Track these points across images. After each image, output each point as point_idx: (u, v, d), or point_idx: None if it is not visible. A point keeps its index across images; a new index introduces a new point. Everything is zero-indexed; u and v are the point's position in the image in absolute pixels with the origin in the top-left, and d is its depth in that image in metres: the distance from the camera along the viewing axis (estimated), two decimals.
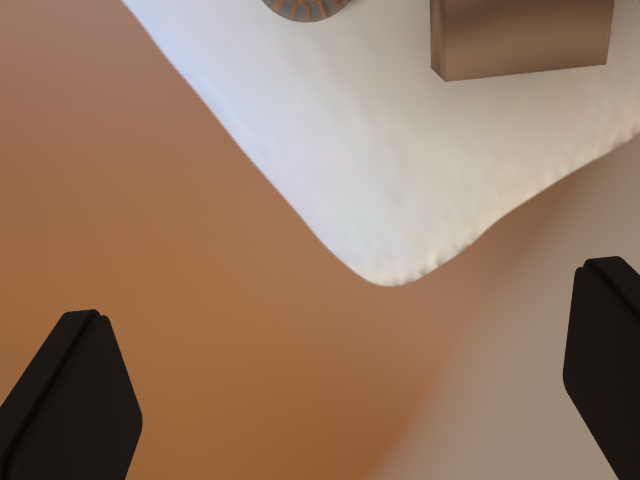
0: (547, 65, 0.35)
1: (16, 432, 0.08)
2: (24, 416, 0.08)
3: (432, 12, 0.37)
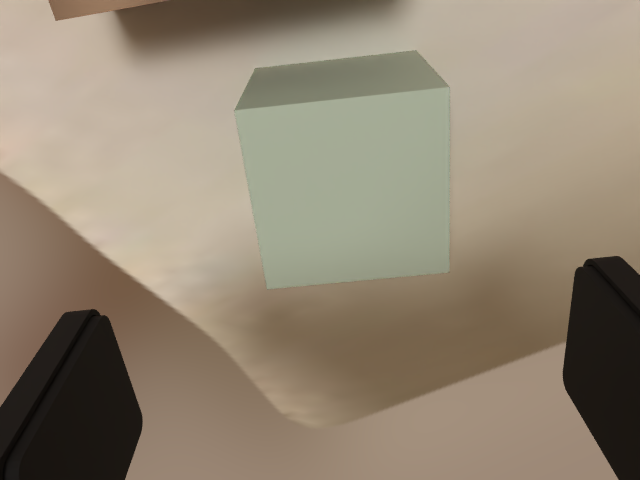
0: None
1: (16, 432, 0.08)
2: (24, 416, 0.08)
3: None
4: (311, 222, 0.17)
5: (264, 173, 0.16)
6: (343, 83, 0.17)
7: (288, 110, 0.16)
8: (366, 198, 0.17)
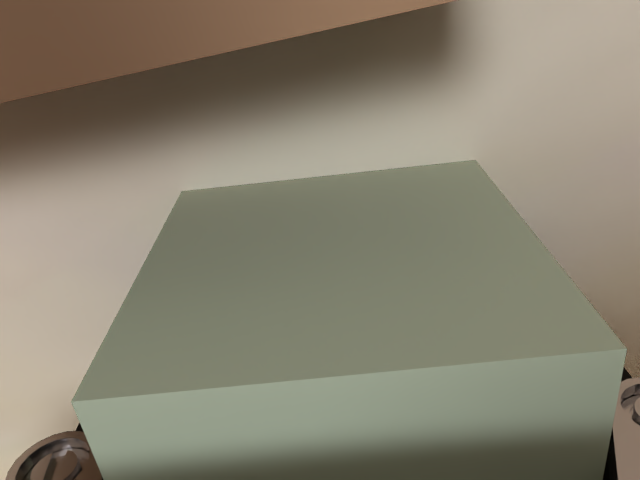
0: None
1: None
2: None
3: None
4: None
5: None
6: (347, 284, 0.08)
7: (209, 399, 0.06)
8: None
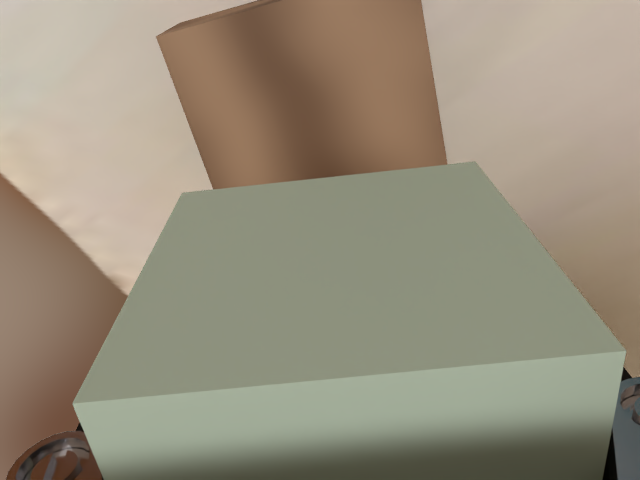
0: (219, 185, 0.24)
1: None
2: None
3: (257, 1, 0.24)
4: None
5: None
6: (347, 286, 0.08)
7: (210, 401, 0.06)
8: None
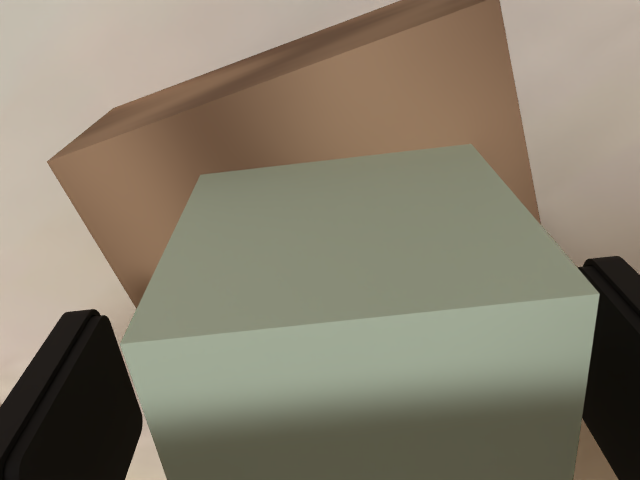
0: None
1: (16, 433, 0.08)
2: (24, 416, 0.08)
3: (226, 69, 0.15)
4: None
5: (195, 449, 0.08)
6: (356, 248, 0.09)
7: (238, 341, 0.07)
8: None
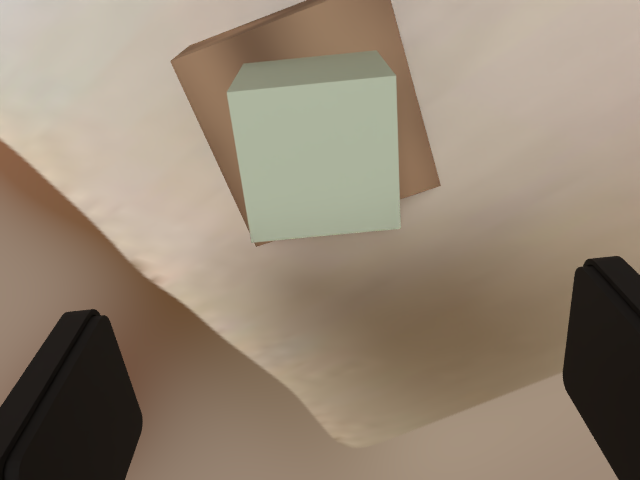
0: (233, 183, 0.28)
1: (16, 432, 0.08)
2: (24, 416, 0.08)
3: (254, 21, 0.28)
4: (288, 185, 0.21)
5: (250, 144, 0.21)
6: (314, 73, 0.21)
7: (269, 92, 0.20)
8: (332, 165, 0.21)
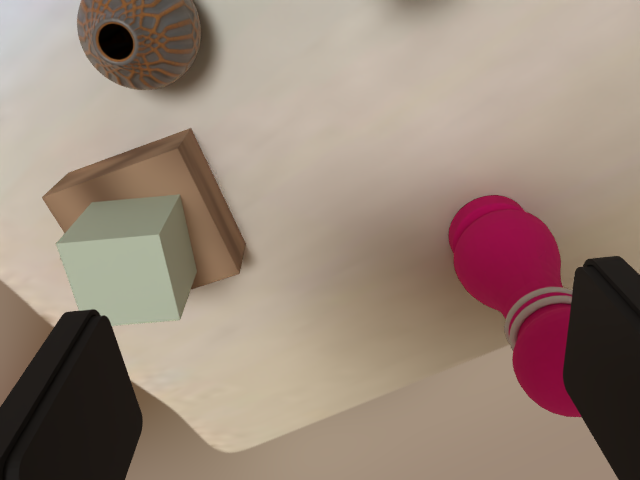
0: None
1: (16, 432, 0.08)
2: (24, 416, 0.08)
3: (109, 159, 0.40)
4: (102, 294, 0.34)
5: (75, 272, 0.33)
6: (119, 225, 0.34)
7: (82, 243, 0.32)
8: (129, 283, 0.33)
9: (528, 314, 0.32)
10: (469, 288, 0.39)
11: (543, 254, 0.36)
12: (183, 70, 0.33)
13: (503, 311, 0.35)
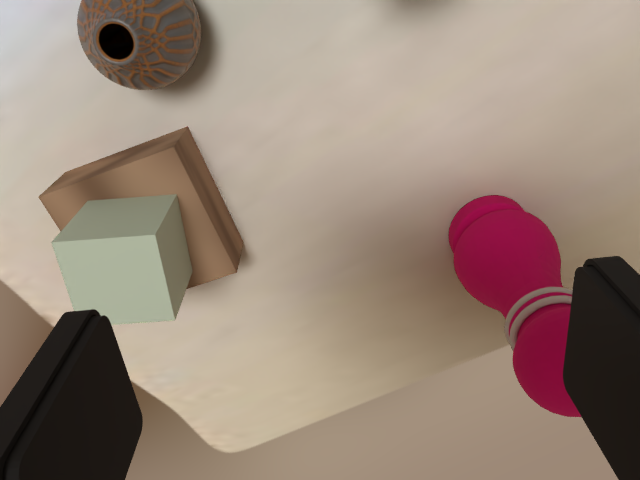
0: None
1: (16, 432, 0.08)
2: (24, 416, 0.08)
3: (106, 158, 0.40)
4: (97, 294, 0.34)
5: (70, 270, 0.33)
6: (115, 224, 0.34)
7: (77, 242, 0.32)
8: (124, 283, 0.33)
9: (528, 314, 0.32)
10: (469, 288, 0.39)
11: (543, 254, 0.36)
12: (183, 70, 0.33)
13: (503, 311, 0.35)
